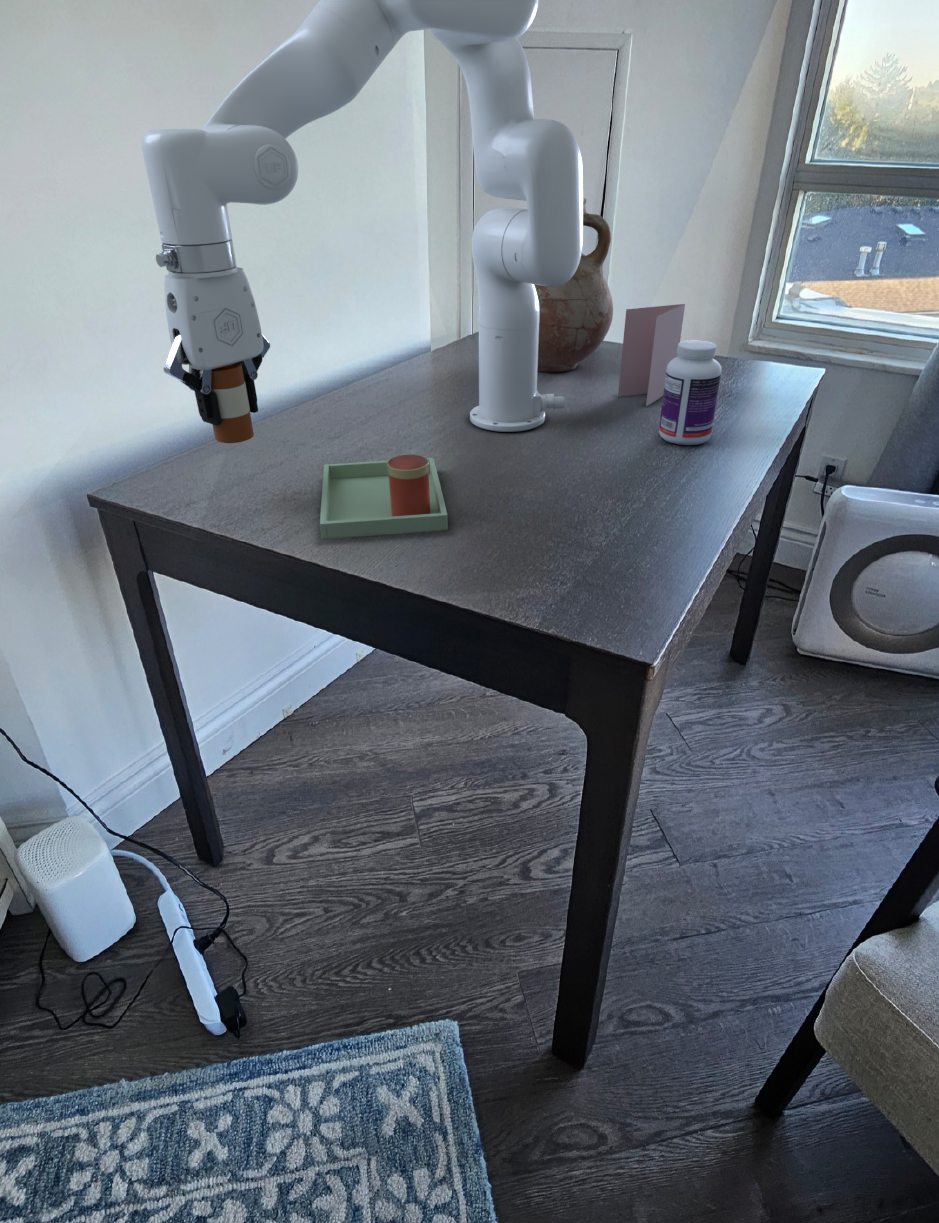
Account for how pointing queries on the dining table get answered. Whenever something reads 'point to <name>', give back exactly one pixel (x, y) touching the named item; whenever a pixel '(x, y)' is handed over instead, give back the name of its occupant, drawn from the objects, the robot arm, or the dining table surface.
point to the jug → (576, 308)
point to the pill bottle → (690, 394)
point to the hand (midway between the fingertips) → (230, 415)
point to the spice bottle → (232, 404)
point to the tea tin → (409, 485)
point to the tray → (372, 502)
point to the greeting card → (649, 349)
